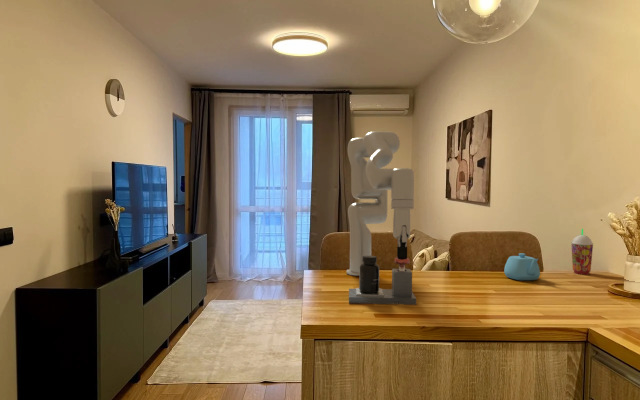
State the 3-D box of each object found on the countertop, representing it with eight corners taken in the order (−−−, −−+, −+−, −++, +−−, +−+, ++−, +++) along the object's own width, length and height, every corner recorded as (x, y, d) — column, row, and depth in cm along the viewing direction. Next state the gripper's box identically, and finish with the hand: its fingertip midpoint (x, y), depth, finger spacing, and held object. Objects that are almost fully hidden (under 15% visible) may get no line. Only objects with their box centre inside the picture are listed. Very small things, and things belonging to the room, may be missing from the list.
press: (348, 294, 152) (349, 266, 152) (411, 295, 150) (411, 267, 150) (348, 303, 140) (348, 273, 140) (416, 304, 138) (416, 274, 138)
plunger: (393, 290, 147) (393, 257, 147) (408, 290, 147) (408, 257, 147) (395, 293, 142) (395, 259, 142) (410, 293, 142) (410, 259, 142)
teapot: (524, 257, 167) (497, 251, 185) (524, 284, 168) (497, 275, 185) (552, 256, 170) (523, 250, 187) (552, 283, 170) (522, 274, 188)
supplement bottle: (378, 294, 142) (378, 258, 141) (358, 293, 143) (358, 257, 143) (379, 289, 148) (380, 255, 148) (360, 288, 150) (360, 254, 149)
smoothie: (567, 271, 194) (568, 227, 194) (586, 271, 193) (587, 228, 193) (575, 275, 186) (576, 229, 186) (596, 275, 185) (597, 229, 184)
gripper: (389, 203, 151) (389, 255, 152) (393, 205, 136) (393, 262, 137) (410, 204, 151) (410, 255, 151) (417, 205, 136) (416, 262, 136)
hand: (402, 258), depth 144 cm, fingers closed
